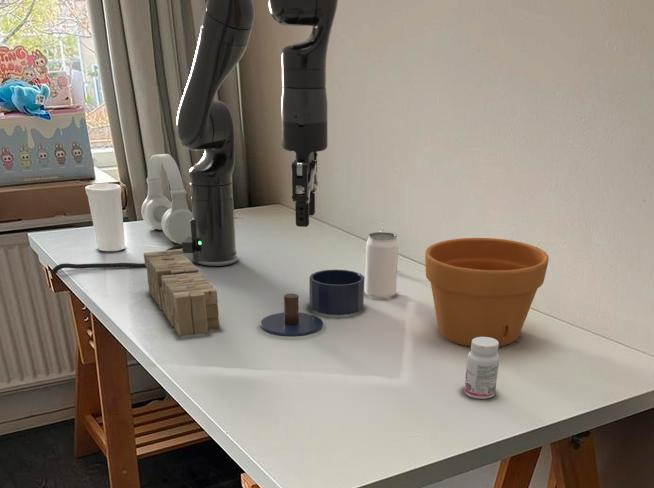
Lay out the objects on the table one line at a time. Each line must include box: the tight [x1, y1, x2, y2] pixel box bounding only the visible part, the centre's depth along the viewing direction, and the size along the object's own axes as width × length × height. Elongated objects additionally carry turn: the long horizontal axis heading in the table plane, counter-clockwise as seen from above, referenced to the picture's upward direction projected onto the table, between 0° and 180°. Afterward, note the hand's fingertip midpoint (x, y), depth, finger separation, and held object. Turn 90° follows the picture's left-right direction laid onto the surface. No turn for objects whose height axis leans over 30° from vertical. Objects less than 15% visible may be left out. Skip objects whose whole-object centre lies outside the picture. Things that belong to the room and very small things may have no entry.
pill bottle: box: [463, 337, 500, 400], centre depth 117 cm, size 5×5×8 cm
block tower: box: [143, 249, 220, 337], centre depth 147 cm, size 8×8×29 cm
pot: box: [308, 269, 365, 316], centre depth 150 cm, size 10×10×6 cm
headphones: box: [140, 153, 193, 245], centre depth 193 cm, size 20×8×19 cm, turn 31°
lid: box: [259, 293, 324, 337], centre depth 141 cm, size 11×11×6 cm
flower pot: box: [424, 237, 550, 348], centre depth 138 cm, size 21×21×15 cm
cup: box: [84, 183, 126, 252], centre depth 182 cm, size 8×8×14 cm
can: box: [364, 231, 399, 298], centre depth 157 cm, size 6×6×12 cm
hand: (305, 220), depth 135 cm, fingers open, 8 cm apart
